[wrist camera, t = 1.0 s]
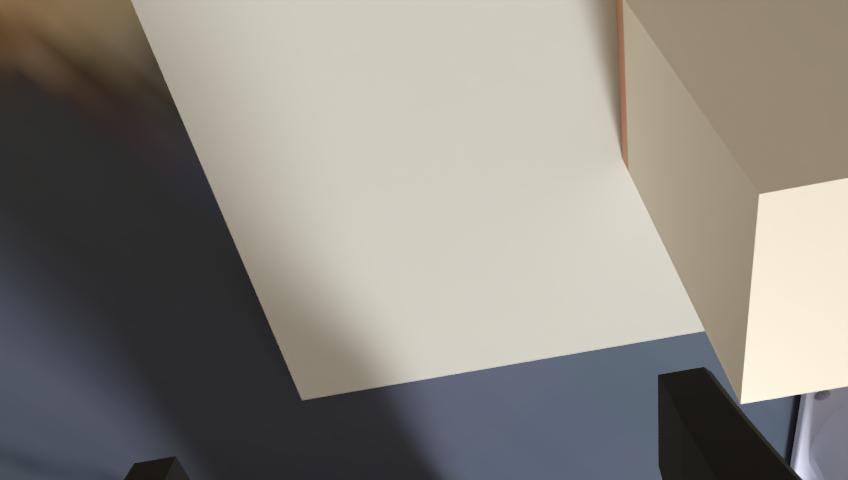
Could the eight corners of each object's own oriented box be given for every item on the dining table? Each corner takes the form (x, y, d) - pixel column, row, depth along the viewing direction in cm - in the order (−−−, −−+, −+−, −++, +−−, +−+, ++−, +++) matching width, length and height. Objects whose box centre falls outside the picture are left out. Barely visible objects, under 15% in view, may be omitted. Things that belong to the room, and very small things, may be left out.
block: (802, 124, 20) (1008, 359, 13) (622, 158, 20) (740, 404, 14) (825, -56, 17) (1096, 132, 11) (615, -14, 17) (759, 193, 11)
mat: (1084, 250, 24) (1099, 262, 23) (303, 385, 25) (302, 400, 25) (1443, -606, 13) (1485, -615, 12) (28, -271, 14) (16, -268, 14)
